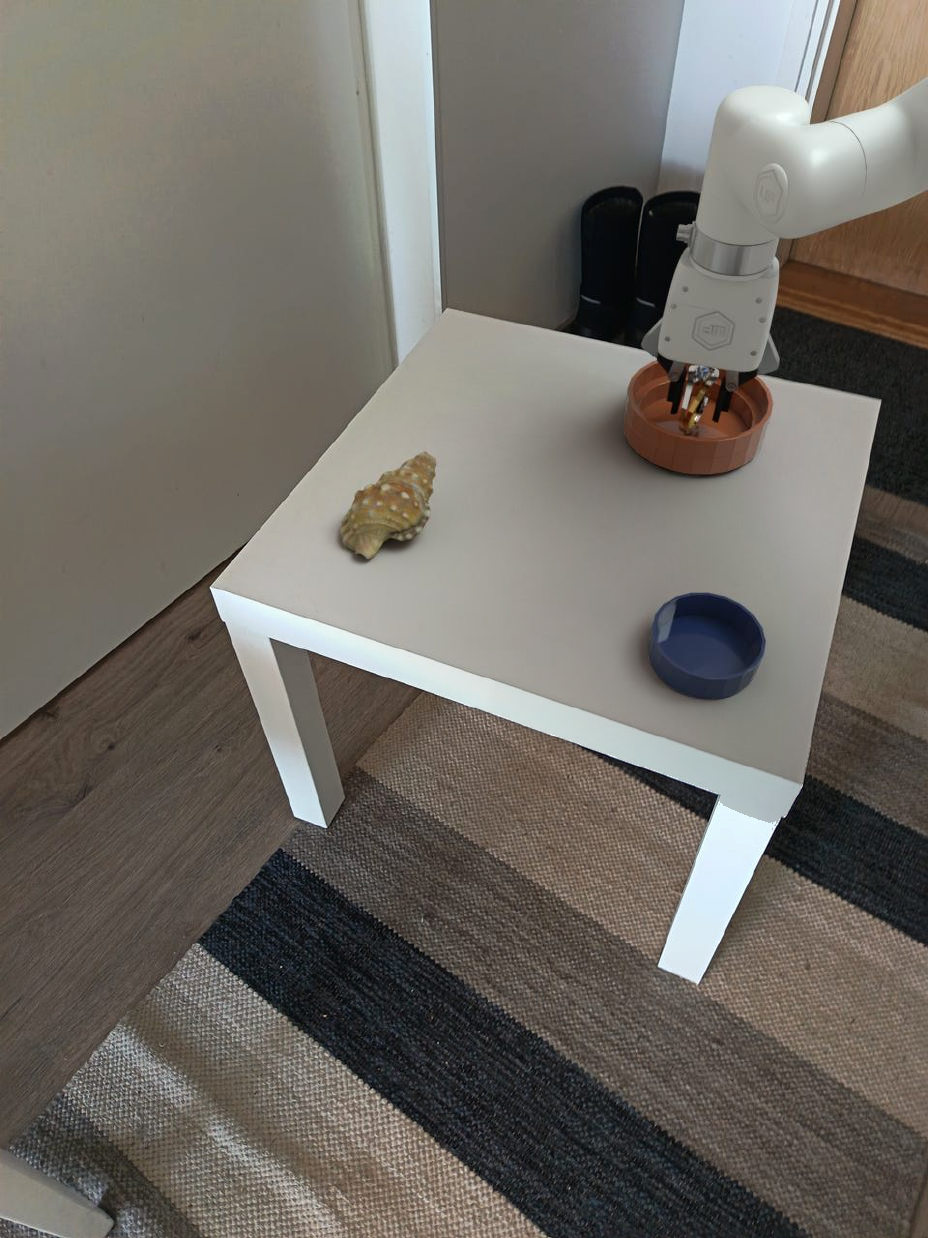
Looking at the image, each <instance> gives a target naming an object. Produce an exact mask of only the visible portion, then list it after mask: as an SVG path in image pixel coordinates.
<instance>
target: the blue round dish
mask: <svg viewBox="0 0 928 1238" xmlns="http://www.w3.org/2000/svg"><path fill="white" fill-rule="evenodd" d="M766 644H767V639H766V636H765V633H764V629H763V626H762V624H761V623H760V622H759V620H758V619H757V617H756V616H755V614H754V613H752V611H750V610H749V609H748V608H747V607H746V606H744V605H743V604H742V603H740V602H738V601H736V600H734V599H732V598H730V597H728V596H725V595H721V594H718V593H711V592H688V593H683V594H681V595H677V596H675V597H673V598H671V599H669V600H668V601H666V602H665V603H663V604H662V606H661V607H660V608H659V609H658V610H657V612H656V613H655V615H654V617H653V622H652V626H651V629H650V634H649V638H648V642H647V657H648V660H649V664H650V666H651V669H652V670H653V671H654V673H655V675H656V676H657V678H659V679H660V680H661V681H662V682H663V683H664V684H665V685H667V686H668V687H669V688H671V689H672V690H674V691H675V692H677V693H680V694H682V695H684V696H687V697H691V698H693V699H698V700H707V701H708V700H709V701H710V700H711V701H712V700H722V699H723V700H724V699H726V698H727V699H728V698H731V697H733V696H735V695H737V694H739V693H741V692H742V691H744V690H745V689H746V688H747V687H748V686H749V685H750V684H751V683H752V681H753V679H754V677H756V675H757V672H758V670H759V667H760V665H761V662H762V660H763V658H764V656H765V649H766Z"/></svg>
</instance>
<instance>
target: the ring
mask: <svg viewBox="0 0 928 1238" xmlns="http://www.w3.org/2000/svg"><path fill="white" fill-rule="evenodd" d="M695 372H696V375H695ZM718 376H719V370H718V369H716V368H712V370H711V371H710V370H709V367H705V366H700V365H693V366H690V368H689V372H688V381H687V387H686V392H685V396H684V400H683V404H682V408H681V412H680V417H679V430H680V431H681V432H683V433H686V434H689V433H691V432H692V431H694V430H695V429H696V426H697V424H698V423H699V421H700V420H701V418H702V416H703V414H704V412H705V410H706V407H707V405H708V403H709V400H710V397H711V395H712V392H713V388H714V385H715V381H716V380H717V378H718ZM700 381H701V383H702V389H701V391H700V392H699V394H698V395H697V397H696V399H695V400H694V402H693V404H692V406H691V407H690V409H689V405H690V401H691V397H692V393H693V387H694V383H695V385H696V386H698V385H699V383H700ZM688 409H689V411H688ZM694 412H695V413H694ZM693 414H694V415H693ZM692 416H693V417H692Z"/></svg>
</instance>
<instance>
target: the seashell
mask: <svg viewBox="0 0 928 1238" xmlns="http://www.w3.org/2000/svg"><path fill="white" fill-rule="evenodd" d="M436 466H437V459H436V457H434V456H433V455H431V454H430V453H429V452H427V451H423V452H421V453H420V452H419V454H416V455H415V456H414V457H413V458H409V459H407V460H405V461H403V463H402V464H401V466H400V467H398V468H397V469H393V470H388V471H384V472H383V473H382V474H381V476H380V477H379V479H378V480H377V481H376V482H375V484H373V483H369V484H367V485H365V486H364V489H363V490H362V489H358V490H357V491H356V492H355V493H354V499H353V501H352V504H351V506H350V508H349V510H348V512H347V513H346V515H345V516H344V517H343V518H342V520H341V527H340V531H339V533H340V538H341V540H342V544H343V545H344V546H345V547H346V548H347V549H350V550H351V551H353V552H354V554H355V555H359V554H360V555H361V556H364V557H365V559H366V560H370V559H372V558H373V557H375V556H376V554H377V553H378V552H379V550H380V549H381V547H382V545H383V544H384V542H386V541H387V540H388V539H394V540H397V541H401V542H403V541H408V540H412V539H413V538H415V537H416V536H418V535H419V534H420V533H422V532H423V530H424V527H425V526H426V524H427V522H428V521H429V520H430V518H431V515H432V513H431V506H430V503H429V500H430V498H431V496H432V495H433V494H434V491H435V489H434V486H433V483H434V481H433V480H434V478H435V477H436V475H437V474H436Z"/></svg>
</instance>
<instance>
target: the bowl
mask: <svg viewBox="0 0 928 1238" xmlns="http://www.w3.org/2000/svg"><path fill="white" fill-rule="evenodd" d="M693 365H694V364H688V363H686V364H685V366H686V370H688V371H687V376H686V380H685V385H684V390H683V395H682V399H681V403H680V406H679V409H678V413H677V414H675V415H674V414H670V412H671V407H672V402H667V396H668V390H669V385H670V380H669V379H668V374H667V372H666V371H665V370H664V369H663V367H662V366H661V365H660V364H659V363H658V361H657V359H656V360H653V361H651V362H649V363H647V364H645V365H643V366H642V367H641V368H639V369H638V370H637V371H636V372H635V374H634V375H633V376H631V379H630V381H629V384H628V387H627V391H626V399H625V405H624V412H623V419H622V426H623V427H622V428H623V429H622V430H623V434H624V436H625V438H626V440H627V442H628V444H629V446H630V447H632V448H633V450H634V451H636V452H637V454H638V455H640V456H641V457H642V458H644V459H646V460H647V461H649V462H650V463H653V464H654V465H657V466H659V467H662V468H664V469H667V470H669V471H673V472H678V473H682V474H690V475H716V474H722V473H727V472H729V471H732V470H736V469H738V468H740V467H742V466H744V465H746V464H747V463H749V462H750V461H752V459H754V458H755V457H756V455H757V454H758V453H759V452H760V450H761V448H762V446H763V443H764V439H765V436H766V433H767V430H768V426H769V423H770V420H771V416H772V413H773V408H774V400H773V396H772V393H771V390H770V389H769V387H768V386H767V385H766V383H765V382H764V380H763V379H761V378H760V377H759V375H757V376H756V377H755V378H753V379H752V380H750V381H748V382H746V383H744V384H742V385H740V386H739V387H738V388H737V390H736V391H734V392H733V395H732V399H731V403H730V406H729V410H728V412H722V411H721V414H720V418H719V422H718V423H717V422H714V421H713V420H712V418H713V414H714V410H715V406H716V402H717V397H718V393H719V389H720V386H721V382H722V378H723V377H725V374H726V370H723V369H718V370H719V376H718V378H717V380H716V381H715V385H714V388H713V392H712V395H711V397H710V400H709V403H708V405H707V407H706V410H705V412H704V414H703V416H702V418H701V420H700V421H699V423H698V424H697V426H696V429H695V430H694V431H692V432H691V433H689V434H686V433H683V432H681V431H680V430H679V417H680V412H681V408H682V404H683V400H684V396H685V392H686V387H687V381H688V372H689V368H690V366H693ZM716 369H717V368H716ZM709 370H710V371H711V370H712V368H711V367H709ZM695 375H696V372H695ZM701 389H702V383H701V381H700V383H699V385H698V386H696V385H695V383H694V387H693V393H692V397H691V401H690V405H689V409H690V407H691V406H692V404H693V402H694V400H695V399H696V397H697V395H698V394H699V392H700V391H701ZM689 409H688V411H689ZM694 413H695V412H694ZM693 415H694V414H693ZM692 417H693V416H692Z"/></svg>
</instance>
